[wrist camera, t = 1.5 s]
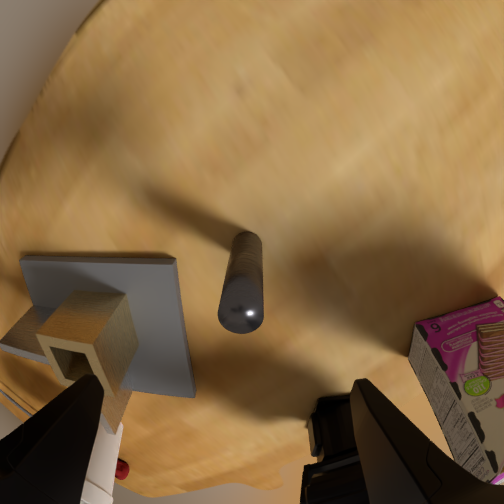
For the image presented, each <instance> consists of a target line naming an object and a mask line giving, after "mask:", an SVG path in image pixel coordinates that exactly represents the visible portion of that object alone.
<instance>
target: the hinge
mask: <svg viewBox="0 0 504 504" xmlns="http://www.w3.org/2000/svg"><path fill="white" fill-rule="evenodd" d="M138 346H139V342H138V338H137V334H136V331H135V327H134V323H133V319H132V315H131V311H130V307H129V303H128V298H127V294H122V293H107V292H93V291H81V290H74V291H73V292H72V293H71V294H70V295H69V296H68V297H67V298H66V299H65V300H64V302H63V303H62V304H61V305H60V306H59V307H58V308H51V307H44V306H37V305H33V306H32V307H31V308H30V309H29V310H28V311H27V312H26V313H25V314H24V315H23V316H22V317H21V318H20V319H19V320H18V322H17V323H16V324H15V325H14V326H13V327H12V328H11V329H10V330H9V331H8V332H7V333H6V335H5V336H4V337H3V338H2V339H1V340H0V347H1V349H2V350H3V351H6V352H9V353H12V354H15V355H18V356H21V357H24V358H28V359H31V360H34V361H38V362H41V363H45V364H49V365H51V367H52V369H53V371H54V373H55V375H56V377H57V379H58V380H59V382H60V384H61V385H64V386H68V387H69V386H70V385H72V384H73V383H74V382H76V381H77V380H78V379H79V378H81V377H82V376H83V375H84V374H87V373H88V374H94V375H96V376H97V377H98V379H99V381H100V383H101V385H102V386H103V388H104V399H103V404H102V410H101V416H100V422H101V424H102V426H103V427H104V429H105V430H106V432H107V433H108V434H112V435H116V432H117V430H118V427H119V425H120V422H121V419H122V417H123V414H124V411H125V409H126V406H127V404H128V401H129V399H130V396H131V394H132V391H133V389H134V387H133V384H132V382H131V379H130V376H129V374H128V371H127V370H128V368H129V366H130V363H131V361H132V359H133V357H134V355H135V353H136V351H137V349H138Z"/></svg>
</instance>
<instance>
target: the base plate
mask: <svg viewBox="0 0 504 504" xmlns="http://www.w3.org/2000/svg"><path fill="white" fill-rule="evenodd" d="M19 262H20V265H21V269H22V272H23V275H24V279H25V282H26V285H27V288H28V291H29V294H30V297H31V299H32V302H33V305H37V306H44V307H51V308H58V307H59V306H60V305H61V304H62V303H63V302H64V300H65V299H66V298H67V297H68V296H69V295H70V294H71V293H72V292H73V291H74V290H81V291H93V292H107V293H122V294H127V298H128V303H129V307H130V311H131V315H132V319H133V323H134V327H135V331H136V334H137V338H138V342H139V346H138V349H137V351H136V353H135V355H134V357H133V359H132V361H131V363H130V366H129V368H128V370H127V371H128V374H129V376H130V379H131V382H132V384H133V387H134V389H133V391H139V392H145V393H152V394H160V395H168V396H177V397H187V398H195V394H196V387H195V381H194V376H193V371H192V365H191V360H190V354H189V348H188V342H187V336H186V330H185V323H184V316H183V309H182V302H181V295H180V287H179V279H178V271H177V262H176V259H170V258H113V257H66V256H24V257H23V258H21V259H20V260H19Z"/></svg>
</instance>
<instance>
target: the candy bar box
mask: <svg viewBox="0 0 504 504" xmlns="http://www.w3.org/2000/svg"><path fill="white" fill-rule="evenodd" d="M408 360H409V362H410V364H411V366H412V368H413V370H414V372H415V374H416V376H417V378H418V380H419V382H420V384H421V386H422V388H423V390H424V392H425V394H426V396H427V398H428V401H429V402H430V405H431V407H432V409H433V411H434V414H435V416H436V418H437V420H438V422H439V425H440V427H441V430H442V432H443V434H444V436H445V439H446V441H447V444H448V446H449V449H450V451H451V453H452V456H453V458H454V461H455V462H456V463H457V464H459V465H460V466H462V467H463V468H464V469H466V470H467V471H468V472H470V473H471V474H473V475H474V476H475V477H477V478H478V479H480V480H482V481H484V482H487V483H490V484H496V485H499V484H501V483H502V482H504V300H503V299H502V298H501V297H500V296H499V297H496V298H493V299H490V300H488V301H485V302H482V303H479V304H476V305H473V306H470V307H467V308H464V309H461V310H458V311H454V312H451V313H448V314H444V315H441V316H438V317H434V318H430V319H427V320H423V321H419V322H416V323H415V324H414V329H413V336H412V342H411V347H410V351H409V356H408Z"/></svg>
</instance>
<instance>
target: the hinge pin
mask: <svg viewBox="0 0 504 504" xmlns="http://www.w3.org/2000/svg"><path fill="white" fill-rule="evenodd" d="M263 318H264V306H263V264H262V242H261V240H260V238H259V237H258V236H257V235H256V234H254V233H252V232H242V233H240V234H238V235H237V236H236V237H235V238H234V240H233V243H232V247H231V252H230V257H229V261H228V266H227V271H226V275H225V280H224V285H223V290H222V294H221V299H220V304H219V309H218V319H219V321H220V323H221V325H222V326H223V327H224V328H225V329H227V330H229V331H231V332H234V333H238V334H245V333H250V332H252V331H254V330H256V329H257V328H258V327H259V326H260V325H261V324H262V322H263Z"/></svg>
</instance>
